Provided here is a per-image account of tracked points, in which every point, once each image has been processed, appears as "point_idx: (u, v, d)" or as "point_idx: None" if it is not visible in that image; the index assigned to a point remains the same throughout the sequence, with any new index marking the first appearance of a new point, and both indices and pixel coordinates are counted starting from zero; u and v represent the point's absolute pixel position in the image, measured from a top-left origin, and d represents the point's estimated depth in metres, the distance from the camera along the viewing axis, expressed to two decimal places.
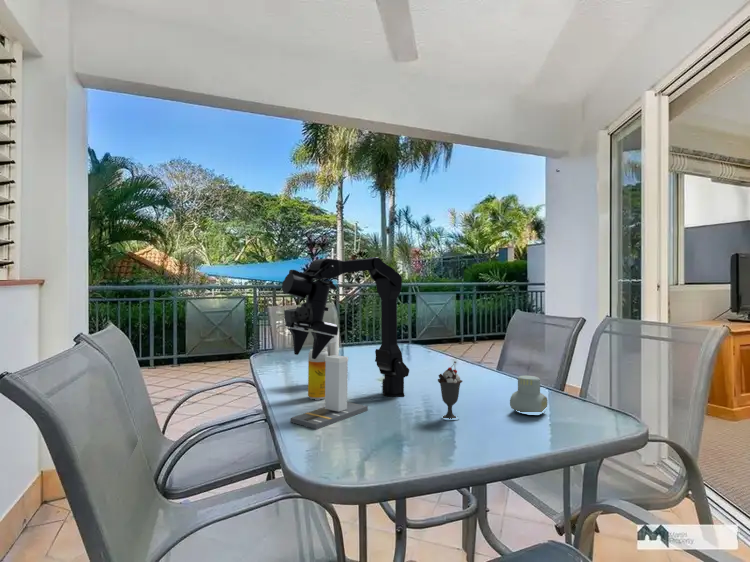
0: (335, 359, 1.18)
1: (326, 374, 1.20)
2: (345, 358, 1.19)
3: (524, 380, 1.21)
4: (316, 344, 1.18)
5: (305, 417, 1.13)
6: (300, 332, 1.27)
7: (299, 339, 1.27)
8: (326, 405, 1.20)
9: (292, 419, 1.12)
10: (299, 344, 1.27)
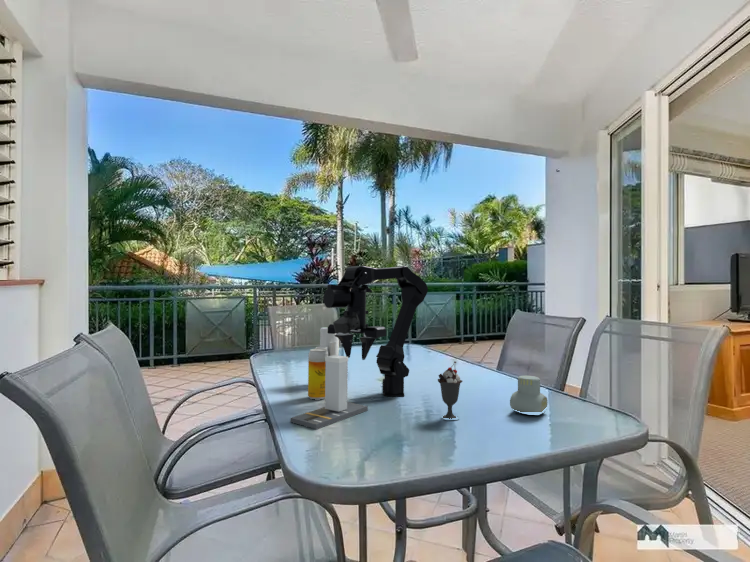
0: (335, 359, 1.18)
1: (326, 374, 1.20)
2: (345, 358, 1.19)
3: (524, 380, 1.21)
4: (365, 347, 1.31)
5: (305, 417, 1.13)
6: (347, 337, 1.36)
7: (348, 343, 1.36)
8: (326, 405, 1.20)
9: (292, 419, 1.12)
10: (349, 347, 1.36)
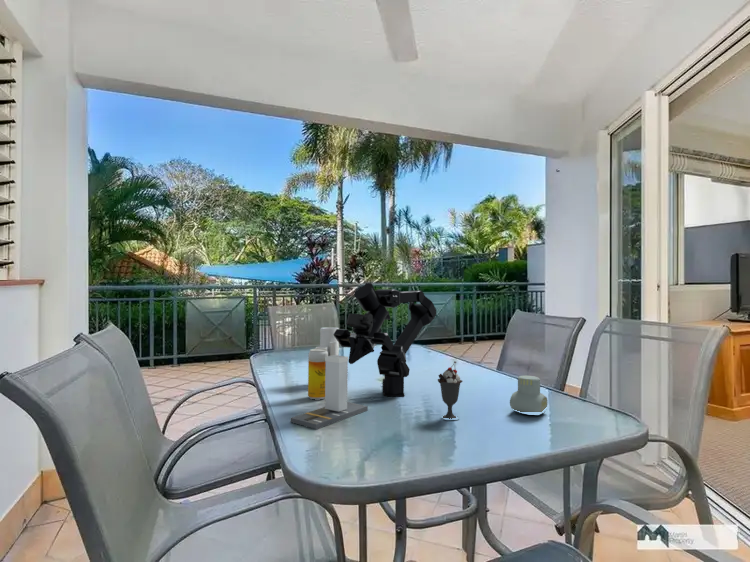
0: (335, 359, 1.18)
1: (326, 374, 1.20)
2: (345, 358, 1.19)
3: (524, 380, 1.21)
4: (358, 350, 1.26)
5: (305, 417, 1.13)
6: (357, 345, 1.29)
7: None
8: (326, 405, 1.20)
9: (292, 419, 1.12)
10: None
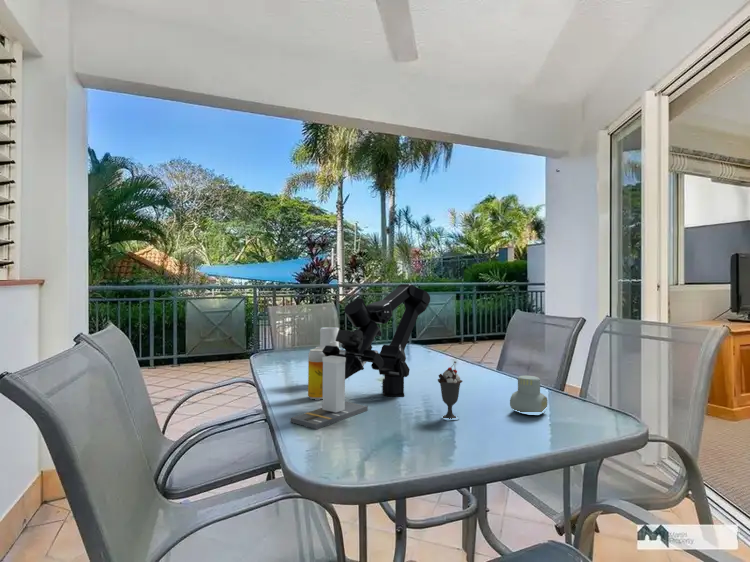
0: (332, 359, 1.17)
1: (324, 374, 1.19)
2: (343, 358, 1.19)
3: (524, 380, 1.21)
4: (347, 368, 1.22)
5: (305, 417, 1.13)
6: (347, 362, 1.25)
7: None
8: (323, 406, 1.19)
9: (292, 419, 1.12)
10: None
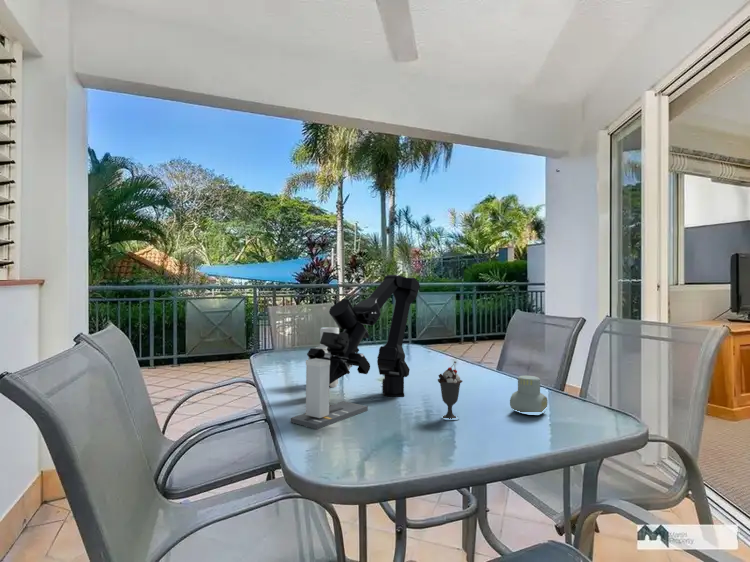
0: (316, 363, 1.12)
1: (307, 378, 1.14)
2: (327, 362, 1.13)
3: (524, 380, 1.21)
4: (332, 372, 1.17)
5: (305, 417, 1.13)
6: (332, 366, 1.20)
7: None
8: (307, 411, 1.14)
9: (292, 419, 1.12)
10: None
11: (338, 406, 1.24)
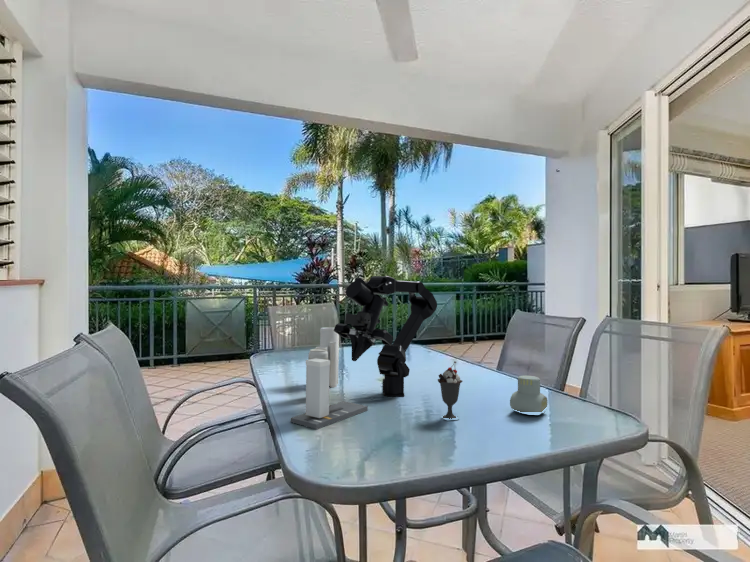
0: (316, 363, 1.12)
1: (307, 378, 1.14)
2: (327, 362, 1.13)
3: (524, 380, 1.21)
4: (360, 347, 1.29)
5: (305, 417, 1.13)
6: None
7: None
8: (307, 411, 1.14)
9: (292, 419, 1.12)
10: None
11: (338, 406, 1.24)
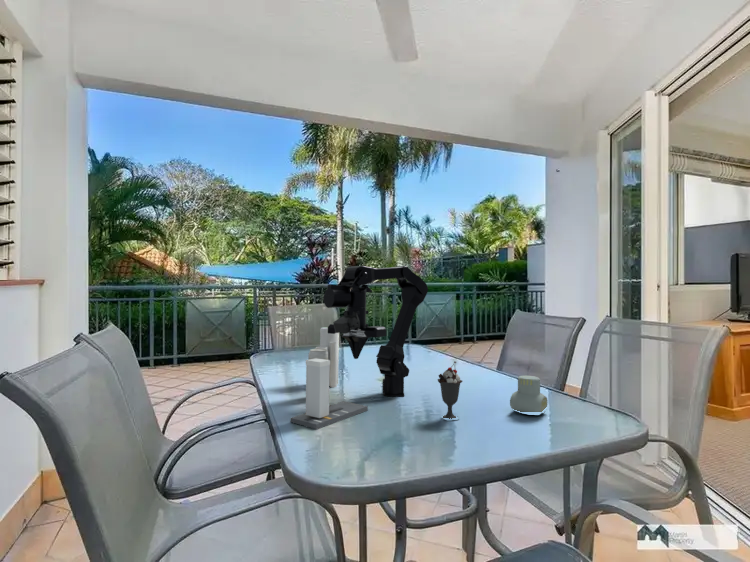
0: (316, 363, 1.12)
1: (307, 378, 1.14)
2: (327, 362, 1.13)
3: (524, 380, 1.21)
4: (358, 346, 1.32)
5: (305, 417, 1.13)
6: None
7: (355, 344, 1.34)
8: (307, 411, 1.14)
9: (292, 419, 1.12)
10: None
11: (338, 406, 1.24)
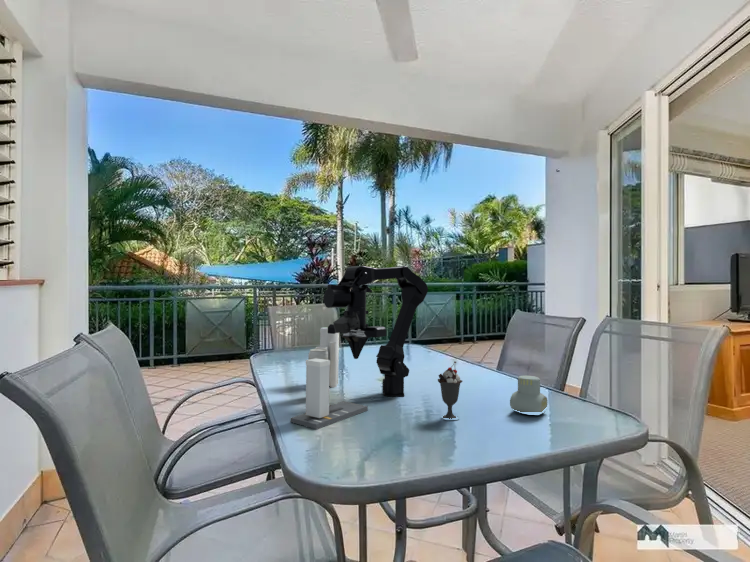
0: (316, 363, 1.12)
1: (307, 378, 1.14)
2: (327, 362, 1.13)
3: (524, 380, 1.21)
4: (358, 346, 1.32)
5: (305, 417, 1.13)
6: None
7: (355, 344, 1.34)
8: (307, 411, 1.14)
9: (292, 419, 1.12)
10: None
11: (338, 406, 1.24)
